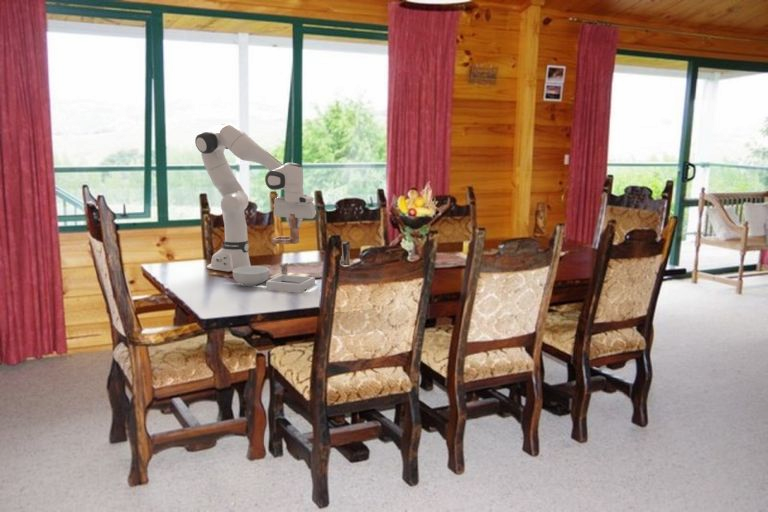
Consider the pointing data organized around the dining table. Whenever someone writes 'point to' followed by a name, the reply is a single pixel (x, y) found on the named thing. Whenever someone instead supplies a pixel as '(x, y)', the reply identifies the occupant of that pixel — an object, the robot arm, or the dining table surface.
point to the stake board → (284, 272)
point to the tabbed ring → (293, 233)
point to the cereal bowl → (251, 275)
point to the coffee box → (345, 253)
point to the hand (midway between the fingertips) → (294, 227)
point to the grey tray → (290, 287)
